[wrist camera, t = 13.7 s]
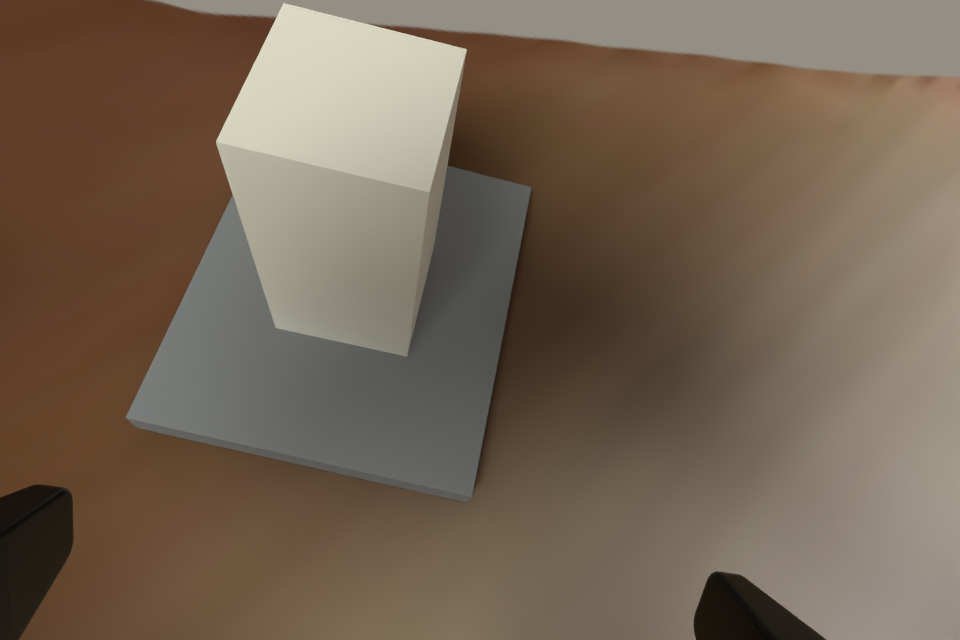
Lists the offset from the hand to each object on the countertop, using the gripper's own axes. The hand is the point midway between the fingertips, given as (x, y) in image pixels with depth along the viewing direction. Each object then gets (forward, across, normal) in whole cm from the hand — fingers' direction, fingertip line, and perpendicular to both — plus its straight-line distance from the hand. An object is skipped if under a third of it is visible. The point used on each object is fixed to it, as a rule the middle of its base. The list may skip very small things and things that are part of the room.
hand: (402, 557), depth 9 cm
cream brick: (+16, +3, +1) cm, 17 cm away
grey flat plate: (+17, +3, +2) cm, 18 cm away
